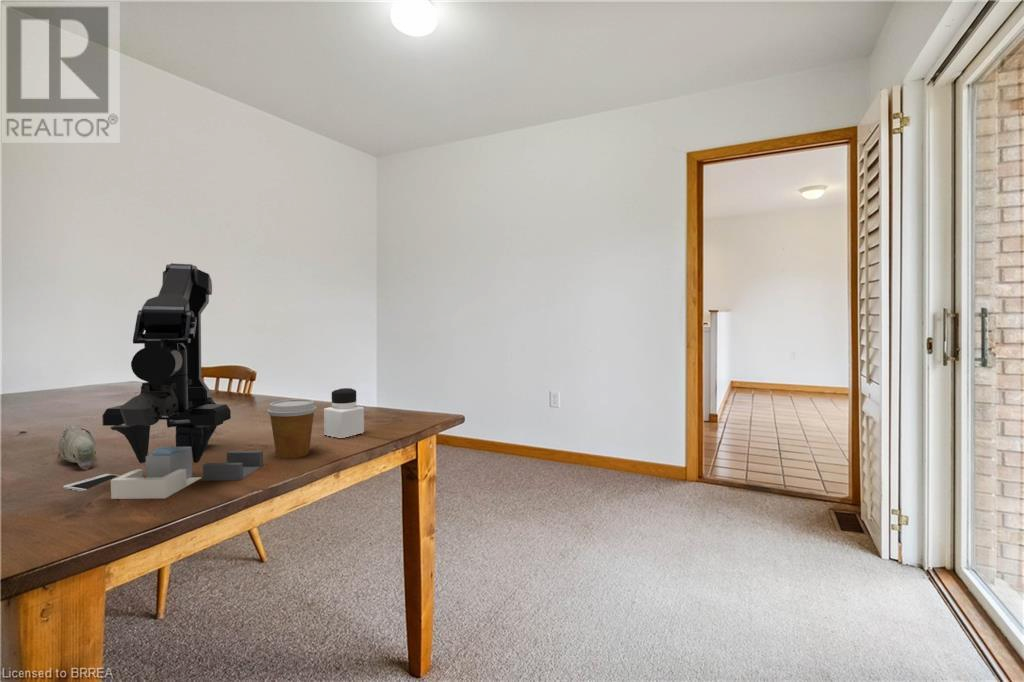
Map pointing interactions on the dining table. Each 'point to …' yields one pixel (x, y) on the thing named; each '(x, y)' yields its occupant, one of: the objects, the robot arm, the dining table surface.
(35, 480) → the dining table surface
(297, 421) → the disposable coffee cup
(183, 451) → the plug
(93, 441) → the decorative bird
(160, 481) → the port
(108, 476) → the smartphone
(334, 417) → the medicine bottle
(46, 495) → the dining table surface
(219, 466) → the holster
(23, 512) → the dining table surface
